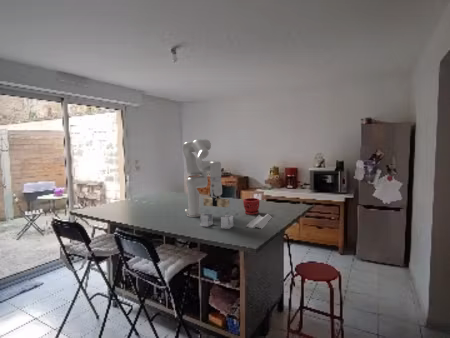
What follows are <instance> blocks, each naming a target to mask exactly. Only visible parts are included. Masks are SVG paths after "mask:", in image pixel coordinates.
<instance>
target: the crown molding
mask: <svg viewBox="0 0 450 338" xmlns="http://www.w3.org/2000/svg"><path fill="white" fill-rule="evenodd" d="M271 218H272V219H273V217H272V215H270V214H269V213H266V214H265V215H264V216H261V214H257V216H256V217H254V218H253V219H252V220H251V221H249V223H247V224H246V225H245V228H246V227H247V228H249V229H250V228H251V229H255V228H259V229H260V228H261V229H263V228H264V227H266V225H268V224H269V222H270V221H271V220H272V219H271ZM270 219H271V220H270ZM269 220H270V221H269ZM268 221H269V222H268Z"/></svg>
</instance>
